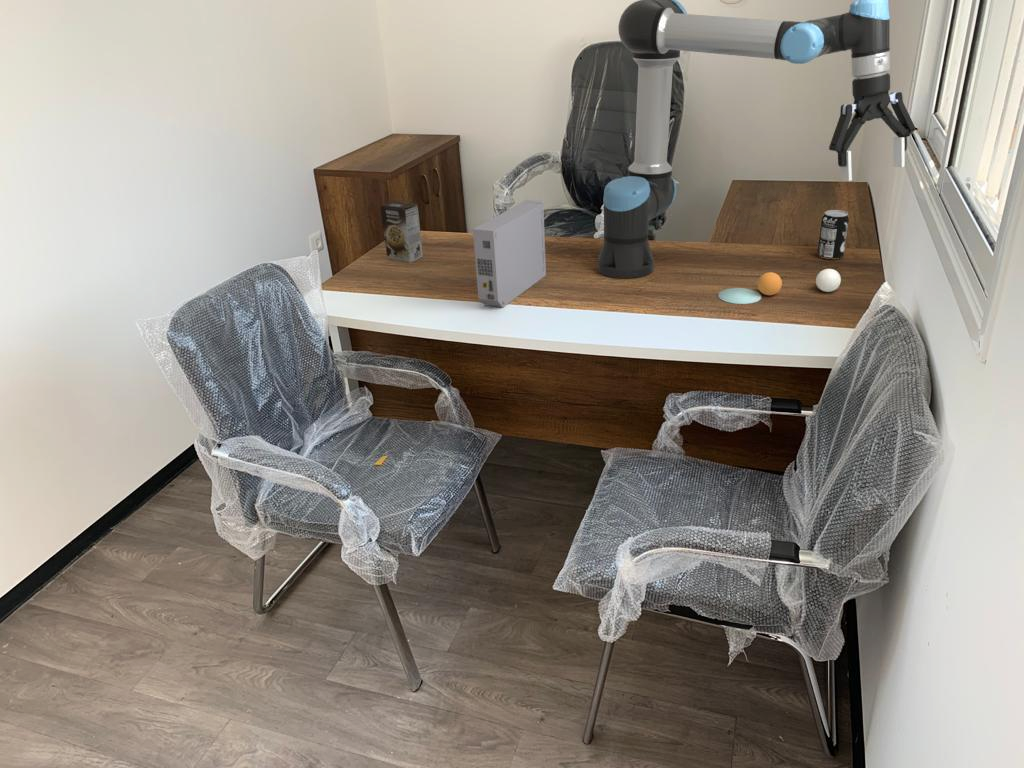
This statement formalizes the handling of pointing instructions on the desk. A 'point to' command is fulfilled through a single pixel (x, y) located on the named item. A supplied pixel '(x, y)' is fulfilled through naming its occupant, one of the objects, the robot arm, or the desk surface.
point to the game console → (510, 253)
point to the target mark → (739, 296)
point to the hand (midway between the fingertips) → (873, 173)
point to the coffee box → (401, 231)
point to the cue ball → (828, 280)
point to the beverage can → (833, 234)
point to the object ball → (769, 283)
